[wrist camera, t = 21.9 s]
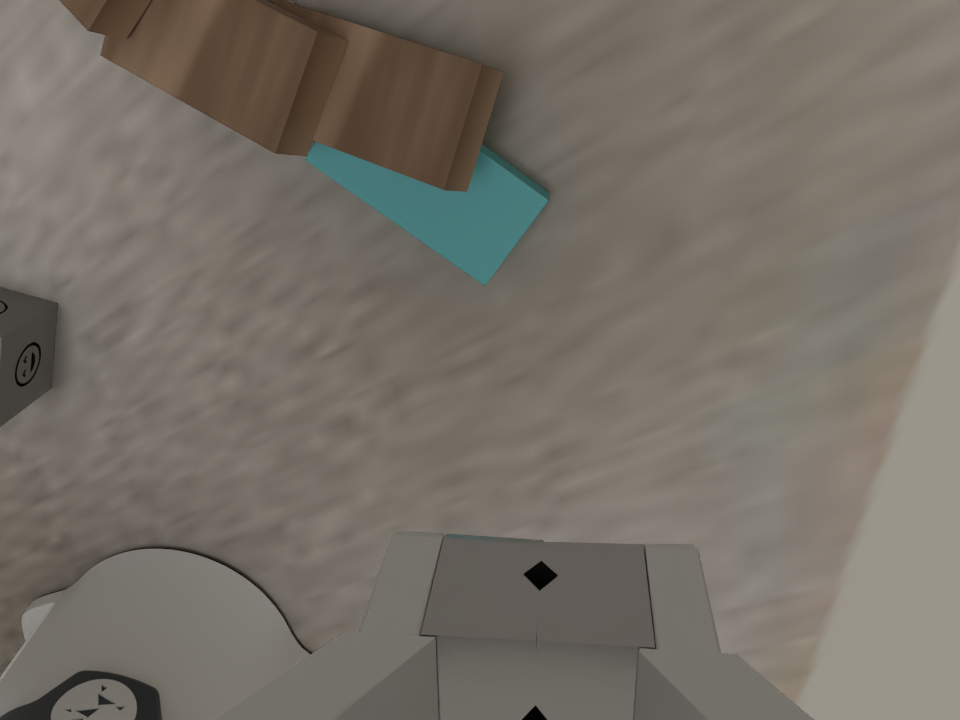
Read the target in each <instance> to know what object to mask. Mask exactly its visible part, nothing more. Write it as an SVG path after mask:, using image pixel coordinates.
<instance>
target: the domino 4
mask: <svg viewBox="0 0 960 720" xmlns="http://www.w3.org/2000/svg"><path fill="white" fill-rule="evenodd" d="M305 160H306V161H307V162H309V163H310V164H311V165H313V166H314V167H316V168H317V169H319V170H320V171H321V172H323V173H324V174H326V175H327V176H328V177H330V178H331V179H333V180H334V181H336V182H337V183H338V184H340V185H341V186H343V187H344V188H346V189H347V190H348V191H350V192H351V193H353V194H354V195H356V196H357V197H358V198H360V199H361V200H363V201H364V202H366V203H367V204H368V205H370V206H371V207H373V208H374V209H376V210H377V211H378V212H380V213H381V214H383V215H384V216H386V217H387V218H388V219H390V220H391V221H393V222H394V223H396V224H397V225H398V226H400V227H401V228H403V229H404V230H406V231H407V232H408V233H410V234H411V235H413V236H414V237H416V238H417V239H418V240H420V241H421V242H423V243H424V244H426V245H427V246H428V247H430V248H431V249H433V250H434V251H436V252H437V253H438V254H440V255H441V256H443V257H444V258H446V259H447V260H448V261H450V262H451V263H453V264H454V265H456V266H457V267H458V268H460V269H461V270H463V271H464V272H466V273H467V274H468V275H470V276H471V277H473V278H474V279H476V280H477V281H478V282H480V283H481V284H483V285H484V286H485V285H486V284H487V282H488V281H489V280H490V278H491V277H492V276H493V274H494V273H495V272H496V270H497V269H498V268H499V266H500V265H501V264H502V262H503V261H504V260H505V258H506V257H507V256H508V254H509V253H510V252H511V250H512V249H513V248H514V246H515V245H516V243H517V242H518V241H519V239H520V238H521V237H522V235H523V234H524V233H525V231H526V230H527V229H528V227H529V226H530V225H531V223H532V222H533V221H534V219H535V218H536V217H537V215H538V214H539V213H540V211H541V210H542V209H543V207H544V206H545V205H546V203H547V202H548V200H549V194H550V193H549V192H547V191H546V190H545V189H543V188H542V187H541V186H539V185H538V184H536V183H535V182H534V181H532V180H531V179H530V178H528V177H527V176H525V175H524V174H523V173H521V172H520V171H519V170H517V169H516V168H514V167H513V166H512V165H510V164H509V163H508V162H506V161H505V160H503V159H502V158H501V157H499V156H498V155H497V154H495V153H494V152H492V151H491V150H490V149H488V148H487V147H486V146H484V145H483V144H482V145H481V149H480V152H479V155H478V158H477V162H476V165H475V168H474V171H473V175H472V178H471V181H470V184H469V188H468V191H467V192H462V191H447V190H442V189H439V188H437V187H434V186H431V185H429V184H426V183H424V182H421V181H418V180H416V179H413V178H410V177H408V176H405V175H402V174H400V173H397V172H394V171H392V170H389V169H387V168H384V167H381V166H379V165H376V164H373V163H371V162H368V161H365V160H363V159H360V158H357V157H355V156H352V155H349V154H347V153H344V152H342V151H339V150H336V149H334V148H331V147H328V146H326V145H323V144H320V143H318V142H315V144H314V145H313V147H312V148H311V150H310V152H309V153H308V155H307V157H306V158H305Z"/></svg>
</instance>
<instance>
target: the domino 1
mask: <svg viewBox="0 0 960 720" xmlns="http://www.w3.org/2000/svg"><path fill="white" fill-rule="evenodd" d="M60 1H61V3H62V4H63V5H64V6H65V7H66V8H67V9H68V10H69V11H70V12H71V13H72V14H73V15H74V16H75V17H76V18H77V20H78V21H79V22H80V23H81V24H82V25H83V26H84V27H85V28H86V29H87V30H88V31H91V32H95V33H100V34H104V35H108V36H113V37H117V38H121V39H125V40H126V39H127V37H128V36H129V34H130V32H131V31H132V29H133V28H134V26H135V25H136V23H137V22H138V20H139V19H140V17H141V15H142V14H143V12H144V11H145V9H146V8H147V6H148V5H149V3H150V2H151V0H60Z"/></svg>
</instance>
